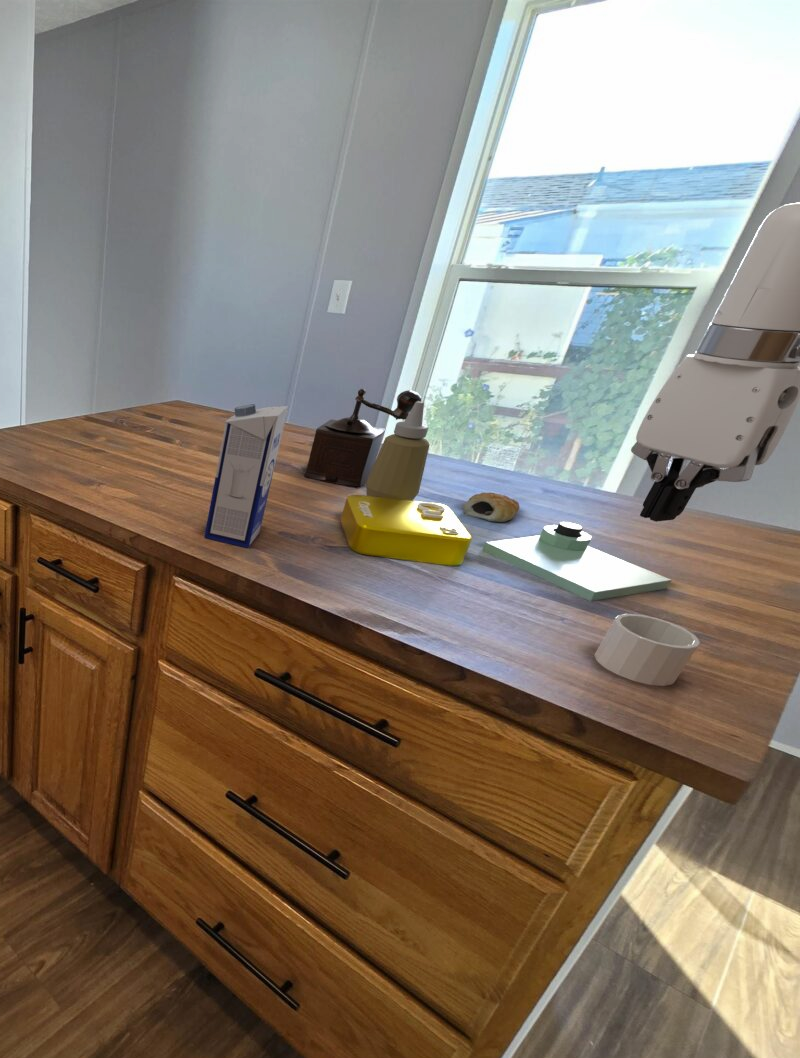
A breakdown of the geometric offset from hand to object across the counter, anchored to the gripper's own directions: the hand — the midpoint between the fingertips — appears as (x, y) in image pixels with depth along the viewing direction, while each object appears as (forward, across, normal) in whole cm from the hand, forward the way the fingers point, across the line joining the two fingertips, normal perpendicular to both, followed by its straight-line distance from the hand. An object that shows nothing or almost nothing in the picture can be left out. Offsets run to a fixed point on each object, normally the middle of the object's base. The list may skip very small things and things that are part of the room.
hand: (656, 517), depth 74 cm
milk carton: (+14, +33, +31) cm, 47 cm away
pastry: (+14, +32, -17) cm, 38 cm away
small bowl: (+14, -9, +8) cm, 18 cm away
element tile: (+14, +26, +7) cm, 30 cm away
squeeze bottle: (+14, +38, -2) cm, 41 cm away
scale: (+14, +12, -11) cm, 21 cm away
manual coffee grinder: (+14, +52, -6) cm, 54 cm away
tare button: (+11, +17, -15) cm, 26 cm away
